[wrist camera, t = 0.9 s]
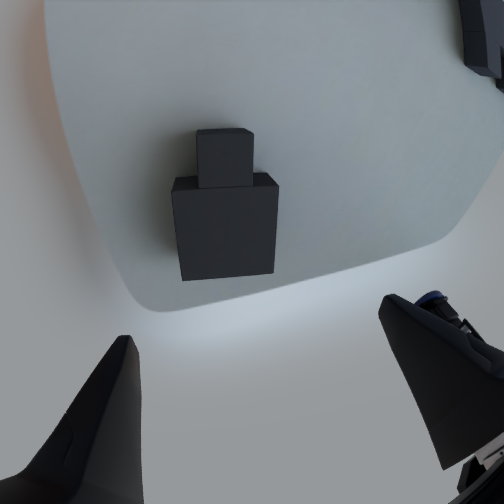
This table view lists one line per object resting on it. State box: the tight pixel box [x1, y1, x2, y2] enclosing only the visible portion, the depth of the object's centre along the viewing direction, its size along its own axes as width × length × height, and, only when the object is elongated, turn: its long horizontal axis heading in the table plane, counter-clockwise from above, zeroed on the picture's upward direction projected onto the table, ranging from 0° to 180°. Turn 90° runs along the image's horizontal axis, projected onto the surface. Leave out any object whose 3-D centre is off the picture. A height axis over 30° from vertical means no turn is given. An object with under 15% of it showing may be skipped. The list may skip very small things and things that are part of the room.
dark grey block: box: [459, 0, 504, 93], centre depth 11 cm, size 12×10×3 cm
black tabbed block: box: [171, 128, 279, 281], centre depth 17 cm, size 6×9×3 cm, turn 179°
